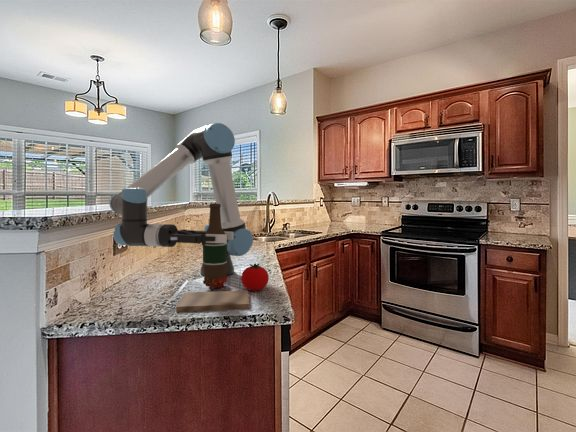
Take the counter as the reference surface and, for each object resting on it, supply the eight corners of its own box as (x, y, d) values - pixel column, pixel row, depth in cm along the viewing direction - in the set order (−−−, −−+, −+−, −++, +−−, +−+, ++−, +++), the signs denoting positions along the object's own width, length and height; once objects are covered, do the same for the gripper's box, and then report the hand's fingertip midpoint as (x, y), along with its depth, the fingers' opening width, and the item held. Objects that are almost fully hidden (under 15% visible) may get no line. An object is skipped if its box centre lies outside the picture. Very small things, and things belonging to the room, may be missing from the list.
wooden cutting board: (176, 311, 92) (176, 306, 92) (184, 296, 106) (184, 292, 106) (248, 308, 96) (248, 303, 96) (247, 294, 109) (247, 290, 109)
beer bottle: (226, 278, 97) (226, 203, 96) (201, 279, 96) (201, 203, 94) (227, 272, 105) (227, 203, 103) (204, 273, 103) (204, 203, 102)
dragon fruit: (208, 297, 111) (216, 292, 123) (227, 283, 111) (234, 279, 123) (195, 277, 111) (205, 274, 123) (214, 264, 112) (222, 262, 124)
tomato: (235, 291, 112) (235, 265, 112) (250, 284, 122) (250, 260, 121) (260, 296, 108) (260, 268, 108) (273, 288, 118) (273, 262, 117)
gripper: (176, 242, 111) (237, 244, 109) (146, 251, 91) (220, 254, 89) (176, 221, 111) (237, 223, 109) (145, 227, 91) (220, 228, 89)
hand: (229, 237), depth 99 cm, fingers closed on beer bottle, 7 cm apart
